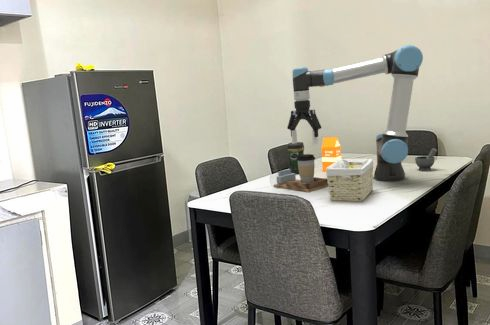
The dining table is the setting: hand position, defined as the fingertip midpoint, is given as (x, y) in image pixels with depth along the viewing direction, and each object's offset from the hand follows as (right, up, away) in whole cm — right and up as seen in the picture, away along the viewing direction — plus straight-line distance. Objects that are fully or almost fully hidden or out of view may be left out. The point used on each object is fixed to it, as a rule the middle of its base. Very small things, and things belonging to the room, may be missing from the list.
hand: (304, 143), depth 210 cm
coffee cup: (+2, -21, +3) cm, 21 cm away
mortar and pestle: (+69, -14, +22) cm, 74 cm away
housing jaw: (-8, -19, +14) cm, 25 cm away
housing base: (-1, -21, +6) cm, 22 cm away
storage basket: (+18, -24, -20) cm, 36 cm away
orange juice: (+22, -14, +43) cm, 51 cm away
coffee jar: (+2, -16, +45) cm, 47 cm away
